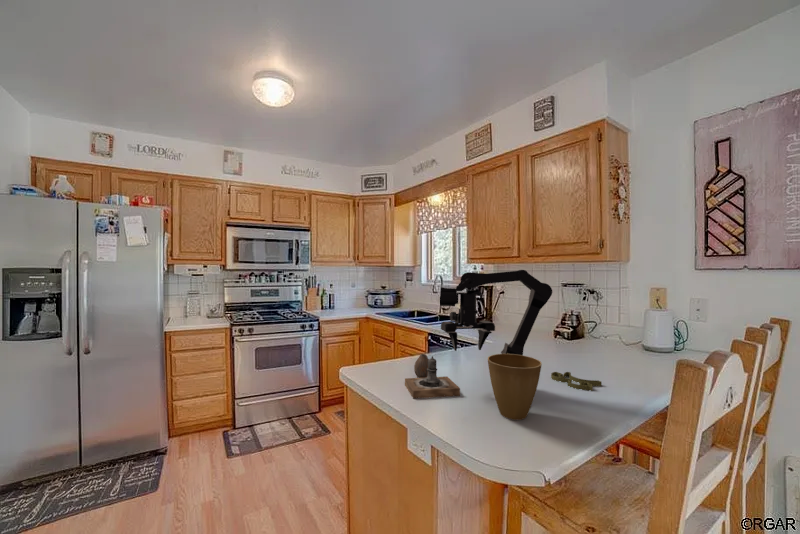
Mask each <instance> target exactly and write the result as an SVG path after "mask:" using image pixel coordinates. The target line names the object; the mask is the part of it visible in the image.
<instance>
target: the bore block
mask: <svg viewBox="0 0 800 534" xmlns="http://www.w3.org/2000/svg"><path fill="white" fill-rule="evenodd" d="M425 378H427V377H425ZM425 378H418V377H407V378H404V386H405V388H406V389H408V390H407V391H408V393H409V394H410V396H411V398H412V399H427V398H429V397H430V398H442V397H446V398H447V397H460V396H461V388H460V386H458V384H456V382H454V381H453V380H452V379H451V378H449V376H437V378H438V379H440V380H441V381H440V384H439V386H438V387H426V385H425V383H424V379H425Z"/></svg>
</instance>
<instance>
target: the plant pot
mask: <svg viewBox="0 0 800 534" xmlns="http://www.w3.org/2000/svg"><path fill="white" fill-rule="evenodd" d="M487 363H488V373H489V377H490V384H491V388H492V391H493V392H492V393H493V396H494V399H495V401H496V405H497V408H498V411H499V413H500V415H501V416H502V417H504V418H506V419H509V420H512V421H513V420H514V421H515V420H516V421H519V420H520V421H521V420H525V419H526V418H527V416H528V414H529V412H530V409H531V407H532V405H533V402H534V399H535V396H536V392H537V389H538V385H539V380H540V375H541V371H542V364H543V363H542V362H541V361H540V360H539V359H537V358H534V357H532V356H528V355H524V354H523V355H517V354H501V353H496V354H492V355H491V354H490V355H489V356H488V357H487Z"/></svg>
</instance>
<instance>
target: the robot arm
mask: <svg viewBox="0 0 800 534" xmlns="http://www.w3.org/2000/svg"><path fill="white" fill-rule="evenodd" d="M508 282H509V283H510V282H521V284H523V286H525V287H526V289H527V288H528V290H530V291H529V295H528V304H527V306H526V309H525V311H524V313H523V316H522V319H521V321H520V323H519V325H518V327H517V329H516V332H515V334H514V337H513V339H512V340H511V341H510V342H509V343H507V342H505V343H504V346H503V349H502V350H501V351H500V354H517V355H523V356H524V348H525V345H526V342H527V340H528V339H529V336H530V333H531V331H532V329H533V326H534V325H535V323H536V320H537V318H538V316H539V314H540V312H541V310H542V308H544V306H545V305H546V304H547V303H548V301H549V300H550V298H551V296H553V289H552V287H551V285H550V284H548V283H545V282H541V281H540V280H538V278H535V276H533V275H532V274H531V273H529V272H528V271H527V270H525V269H519V270H511V271H499V272H490V273H489V272H488V273H483V272H482V273H481V272H470V271H469V272H468V271H467V272H463V274H462V275H461V277H460V281H459V283H458V284H457V285H456V287H455V288H454V287H449V288H448V287H440V293H439V294H440V295H439V307H456V305H458V304H460V305H459V309H458V313H457V311H451V312H449V320H450V321H441V324H440V330H442V331H443V332H445V333H446V334H448V336H449V338H450V340H451V344H452V347H453V349H454V351H455V352H457V350H458V349H457V348H458V332H456V330H470V329H473V330H475V329H476V330H477V331H478V343H477V345H478V347H477V348H478V349H477V350H478V351H481V350H482V347H483V346H484V344H485V342H486V340H487V339H488V337H489V335H490V334H492V333H493V332H495V331H496V325H495V323H494V322H492V321H489V320H479V322H478V321H477V314H478V312H479V311H478V310H477V296H481V295H482V294H483V293H482V292H481V291H480V289H479V288H478V287H481V286H485V285H487V284H499V283H508ZM474 288H475V289H474ZM464 290H466V291H465V292H463V291H464ZM459 297H460V299H459ZM459 301H460V302H459Z"/></svg>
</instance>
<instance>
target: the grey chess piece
mask: <svg viewBox="0 0 800 534" xmlns="http://www.w3.org/2000/svg"><path fill="white" fill-rule="evenodd" d="M428 359H429V360H428V368H427V370H428V376H427V378H425V379H424V383H425V385H426V386H425V387H438V386H439V384H440V381H441V380H440V379H438V378H437V377H438V375H437V372H438V368H437V359H436V358H434V356H433V355H432V356H431V358H428Z"/></svg>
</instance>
